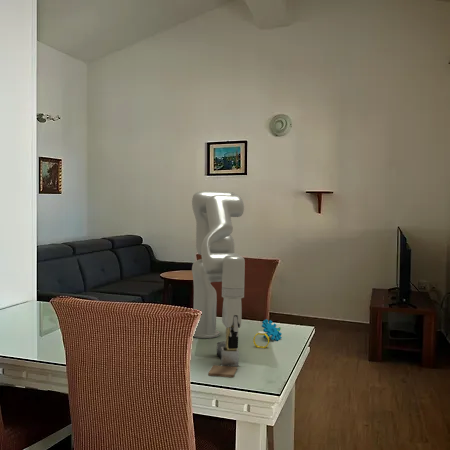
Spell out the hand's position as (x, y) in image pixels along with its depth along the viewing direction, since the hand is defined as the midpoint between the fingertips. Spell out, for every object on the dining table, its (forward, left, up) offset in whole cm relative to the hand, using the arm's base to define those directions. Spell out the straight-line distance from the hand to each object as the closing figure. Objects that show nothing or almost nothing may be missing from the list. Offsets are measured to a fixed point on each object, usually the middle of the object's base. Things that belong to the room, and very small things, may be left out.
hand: (231, 346), depth 164 cm
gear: (+11, +37, -7) cm, 39 cm away
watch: (+8, +23, -6) cm, 25 cm away
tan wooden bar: (0, 0, -4) cm, 4 cm away
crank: (-2, +5, -6) cm, 8 cm away
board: (-1, -9, -6) cm, 11 cm away
